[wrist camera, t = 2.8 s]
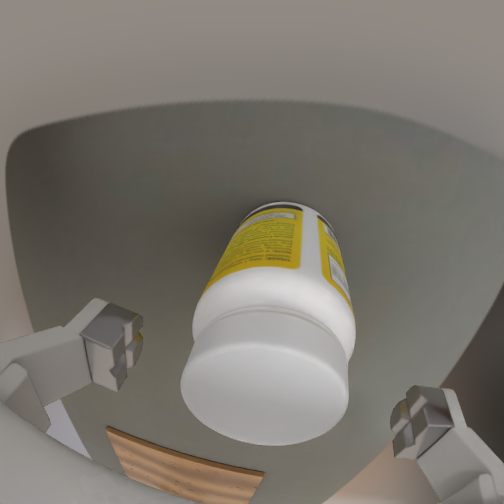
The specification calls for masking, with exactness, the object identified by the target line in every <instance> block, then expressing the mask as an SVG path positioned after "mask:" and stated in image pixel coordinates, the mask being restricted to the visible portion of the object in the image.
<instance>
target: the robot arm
mask: <svg viewBox="0 0 504 504" xmlns="http://www.w3.org/2000/svg"><path fill="white" fill-rule="evenodd" d="M142 327H143V317H142V316H141V315H139V314H137V313H134V312H132V311H129V310H127V309H124V308H122V307H119V306H117V305H115V304H112V303H109V302H107V301H104V300H102V299H100V298H98V297H97V298H94V299H92V300H91V301H90V302H89V303H88V304H87V305H86V306H85V307H84V308H83V309H82V310H81V311H80V312H79V313H78V314H77V315H76V316H75V317H74V318H73V319H72V320H71V321H70V322H69V323H68V324H67V325H66V326H65V327H62V326H58V327H54V328H51V329H47V330H44V331H40V332H36V333H33V334H29V335H26V336H22V337H19V338H15V339H11V340H8V341H4V342H1V343H0V504H202V503H199V502H195V501H192V500H189V499H186V498H182V497H179V496H176V495H173V494H170V493H168V492H165V491H162V490H159V489H156V488H154V487H151V486H149V485H146V484H144V483H141V482H139V481H136V480H134V479H131V478H129V477H127V476H124V475H122V474H120V473H118V472H116V471H113V470H111V469H109V468H107V467H105V466H103V465H101V464H99V463H97V462H95V461H93V460H91V459H89V458H87V457H85V456H84V455H82V454H80V453H78V452H76V451H75V450H73V449H71V448H69V447H68V446H66V445H64V444H62V443H61V442H59V441H57V440H56V439H54V438H52V437H51V436H49V435H48V434H46V433H45V432H46V431H47V429H48V428H49V426H50V425H51V423H50V419H49V417H48V415H47V413H46V411H45V410H44V406H46V405H48V404H50V403H52V402H54V401H56V400H58V399H61V398H63V397H65V396H67V395H69V394H71V393H73V392H75V391H77V390H79V389H81V388H83V387H85V386H87V385H89V384H91V383H92V381H93V382H95V383H97V384H99V385H102V386H104V387H106V388H108V389H111V390H113V391H115V392H118V390H119V389H120V387H121V386H122V384H123V383H124V381H125V379H126V378H127V369H128V368H131V367H133V366H134V365H135V364H136V362H137V360H138V358H139V356H140V353H141V350H142V345H143V337H142V335H141V334H140V332H139V331H140V329H141V328H142ZM390 427H391V430H392V432H393V433H394V434H395V435H396V436H395V438H394V439H393V441H392V442H393V449H394V457H395V458H398V459H417V460H416V462H417V463H418V465H419V467H420V468H421V470H422V471H423V473H424V474H425V476H426V478H427V479H428V481H429V482H430V484H431V486H432V487H433V489H434V491H435V492H436V494H437V496H438V497H439V499H440V500H441V502H439V503H438V504H504V464H503V463H502V461H501V460H500V459H499V458H498V457H497V456H496V455H495V454H494V453H493V452H492V450H491V449H490V448H489V447H488V446H487V445H486V444H485V443H484V442H483V441H482V440H481V439H480V438H479V437H478V436H477V434H476V433H475V432H474V431H473V430H472V429H471V428H467V426H466V423H465V420H464V417H463V414H462V411H461V408H460V405H459V402H458V399H457V396H456V394H455V392H454V391H453V390H452V389H443V388H433V387H425V386H417V385H414V386H412V387H411V388H410V389H409V390H408V391H407V392H406V399H404V400H402V401H400V402H398V404H397V405H396V406H395V408H394V409H393V412H392V414H391V419H390Z"/></svg>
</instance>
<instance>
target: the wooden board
mask: <svg viewBox="0 0 504 504" xmlns="http://www.w3.org/2000/svg"><path fill="white" fill-rule="evenodd" d="M106 432H107V434H108V437H109V439H110V441H111V443H112V446H113V448H114V450H115V452H116V454H117V456H118V459H119V461H120V463H121V465H122V467H123V469H124V471H125V473H126V475H127V477H129V478H131V479H134V480H136V481H139V482H141V483H144V484H146V485H149V486H151V487H154V488H156V489H159V490H162V491H165V492H168V493H170V494H173V495H176V496H179V497H182V498H186V499H189V500H192V501H195V502H199V503H202V504H248V502H249V501H250V499H251V497H252V496H253V494H254V493H255V491H256V489H257V488H258V486H259V484H260V482H261V481H262V479H263V477H264V472H258V471H253V470H248V469H243V468H238V467H233V466H229V465H224V464H220V463H216V462H212V461H208V460H204V459H200V458H197V457H193V456H189V455H186V454H183V453H179V452H176V451H173V450H170V449H167V448H164V447H161V446H158V445H155V444H152V443H149V442H146V441H144V440H141V439H138V438H136V437H133V436H130V435H128V434H125V433H123V432H120V431H118V430H116V429H113V428H111V427H107V429H106Z"/></svg>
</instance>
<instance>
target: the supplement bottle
mask: <svg viewBox="0 0 504 504" xmlns="http://www.w3.org/2000/svg"><path fill="white" fill-rule="evenodd" d="M192 331H193V339H194V345H193V347H192V350H191V353H190V355H189V358H188V360H187V363H186V366H185V368H184V371H183V373H182V377H181V393H182V397H183V399H184V402H185V404H186V405H187V407H188V408H189V410H190V411H191V412H192V413H193V414H194V415H195V417H196V418H197V419H198V420H199V421H201V422H202V423H203V424H205V425H206V426H208V427H209V428H211V429H213V430H214V431H216V432H218V433H220V434H222V435H225V436H227V437H230V438H232V439H235V440H239V441H243V442H247V443H252V444H259V445H272V446H276V445H290V444H296V443H301V442H305V441H308V440H311V439H314V438H316V437H319V436H321V435H323V434H324V433H326V432H328V431H329V430H330V429H332V428H333V427H334V426H335V425H336V424H337V423H338V422H339V421H340V420H341V418H342V417H343V415H344V413H345V411H346V409H347V406H348V401H349V388H348V362H349V360H350V358H351V356H352V353H353V350H354V346H355V338H356V325H355V319H354V314H353V308H352V304H351V299H350V294H349V289H348V284H347V279H346V275H345V269H344V265H343V261H342V256H341V252H340V248H339V243H338V240H337V237H336V234H335V232H334V230H333V229H332V227H331V225H330V224H329V223H328V221H327V220H326V219H325V218H324V217H323V216H322V215H320V214H319V213H318V212H316V211H315V210H313V209H311V208H309V207H307V206H304V205H300V204H297V203H291V202H275V203H270V204H267V205H264V206H261V207H259V208H257V209H256V210H254V211H253V212H251V213H250V214H249V215H248V216H247V217H246V218H245V219H244V220H243V221H242V222H241V223H240V225H239V226H238V228H237V229H236V231H235V233H234V235H233V237H232V239H231V241H230V242H229V244H228V246H227V248H226V250H225V252H224V254H223V256H222V258H221V260H220V261H219V263H218V265H217V267H216V269H215V271H214V273H213V275H212V277H211V278H210V280H209V282H208V284H207V286H206V288H205V290H204V292H203V294H202V296H201V298H200V300H199V302H198V304H197V307H196V310H195V313H194V318H193V325H192Z"/></svg>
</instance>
